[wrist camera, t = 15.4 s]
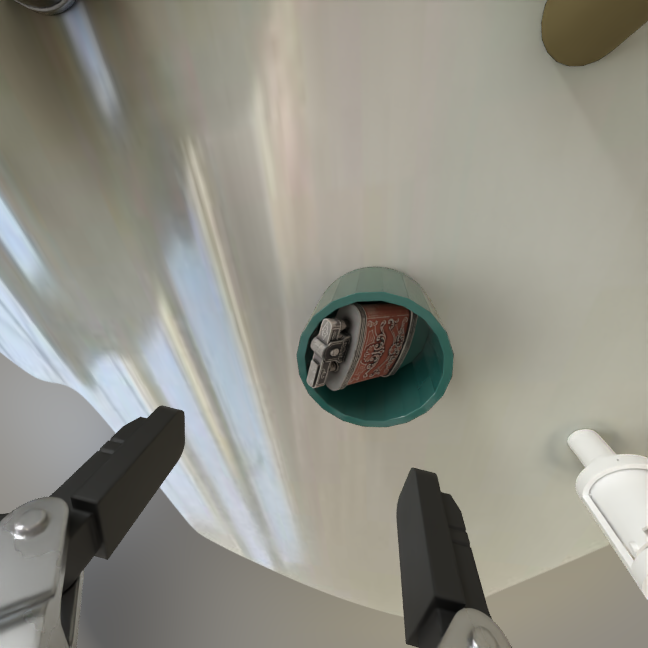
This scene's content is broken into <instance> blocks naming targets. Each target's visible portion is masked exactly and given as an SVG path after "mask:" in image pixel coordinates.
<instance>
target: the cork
mask: <svg viewBox="0 0 648 648" xmlns="http://www.w3.org/2000/svg"><path fill="white" fill-rule="evenodd" d="M647 21H648V0H548V1H547V3H546V5H545V9H544V13H543V18H542V22H541V25H542V40H543V42H544V45H545V47H546V50H547V52H548V53H549V54H550V55H551V56H552V57H553V58H554V59H555V60H556V61H557V62H559V63H562V64H565V65H567V66H584V65H586V64H589V63H592V62H595V61H597V60H599V59H601V58H602V57H604V56H605V55H607V54H608V53H610V52H611V51H612V50H614V49H615V48H616V47H617V46H619V45H620V44H621V43H622V42H623V41H624V40H626V39H627V38H628V37H629V36H630V35H632V34H633V33H634V32H635V31H636V30H638V29H639V28H640V27H641V26H642V25H643V24H645V23H646V22H647Z"/></svg>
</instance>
